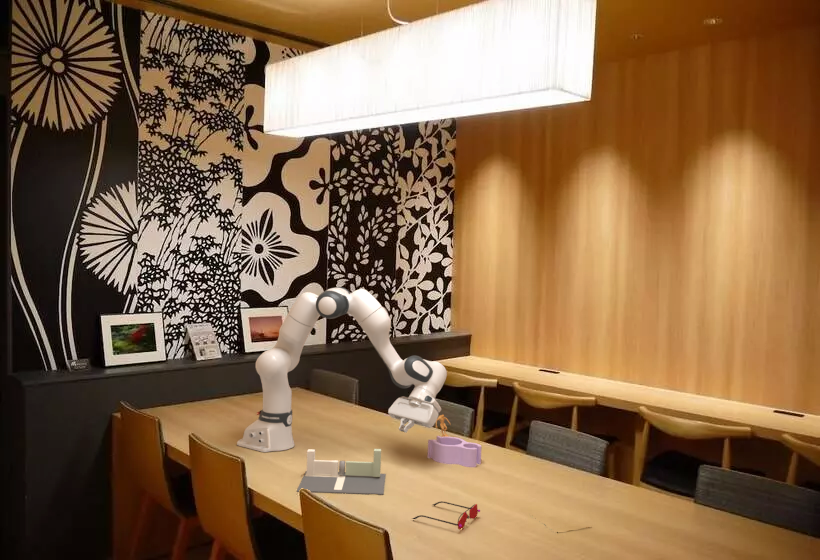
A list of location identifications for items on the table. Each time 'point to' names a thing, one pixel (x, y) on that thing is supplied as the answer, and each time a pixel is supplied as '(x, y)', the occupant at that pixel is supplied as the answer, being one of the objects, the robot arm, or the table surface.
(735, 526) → the table surface
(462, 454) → the lilac double-ring holder
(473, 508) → the glasses
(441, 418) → the figurine
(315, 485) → the board
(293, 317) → the robot arm
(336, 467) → the fixed fence
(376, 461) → the gate
